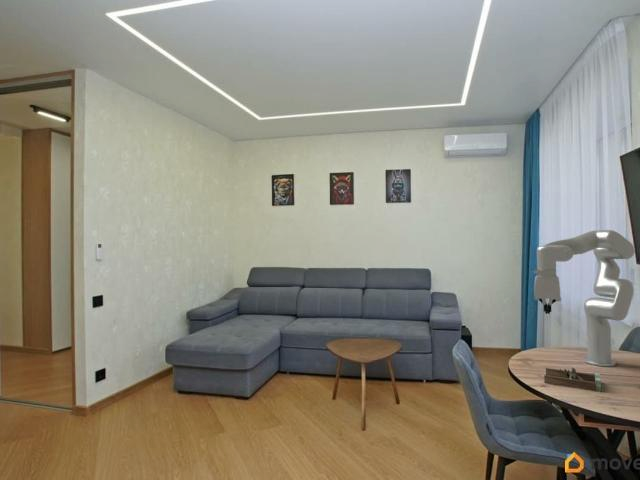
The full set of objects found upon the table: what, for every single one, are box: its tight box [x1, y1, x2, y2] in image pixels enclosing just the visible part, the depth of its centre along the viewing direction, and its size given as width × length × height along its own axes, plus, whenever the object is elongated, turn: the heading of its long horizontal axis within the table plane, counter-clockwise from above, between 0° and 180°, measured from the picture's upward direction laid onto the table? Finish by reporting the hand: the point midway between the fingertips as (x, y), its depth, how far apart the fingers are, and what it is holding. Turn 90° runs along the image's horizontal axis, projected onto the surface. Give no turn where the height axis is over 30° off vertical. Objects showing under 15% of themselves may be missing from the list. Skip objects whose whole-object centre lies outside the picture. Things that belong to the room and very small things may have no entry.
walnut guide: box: [543, 367, 602, 392], centre depth 166 cm, size 12×20×4 cm, turn 57°
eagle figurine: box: [559, 367, 584, 381], centre depth 165 cm, size 8×7×9 cm
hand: (547, 313), depth 178 cm, fingers closed
